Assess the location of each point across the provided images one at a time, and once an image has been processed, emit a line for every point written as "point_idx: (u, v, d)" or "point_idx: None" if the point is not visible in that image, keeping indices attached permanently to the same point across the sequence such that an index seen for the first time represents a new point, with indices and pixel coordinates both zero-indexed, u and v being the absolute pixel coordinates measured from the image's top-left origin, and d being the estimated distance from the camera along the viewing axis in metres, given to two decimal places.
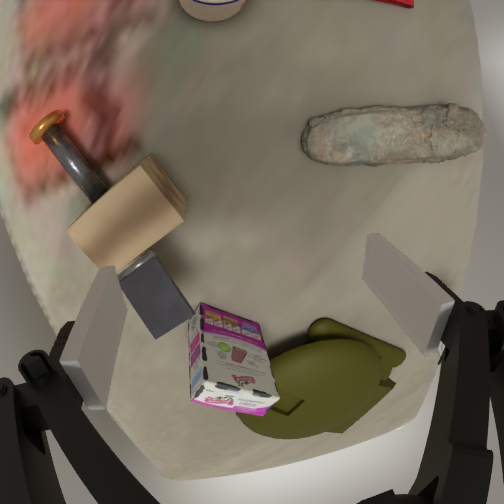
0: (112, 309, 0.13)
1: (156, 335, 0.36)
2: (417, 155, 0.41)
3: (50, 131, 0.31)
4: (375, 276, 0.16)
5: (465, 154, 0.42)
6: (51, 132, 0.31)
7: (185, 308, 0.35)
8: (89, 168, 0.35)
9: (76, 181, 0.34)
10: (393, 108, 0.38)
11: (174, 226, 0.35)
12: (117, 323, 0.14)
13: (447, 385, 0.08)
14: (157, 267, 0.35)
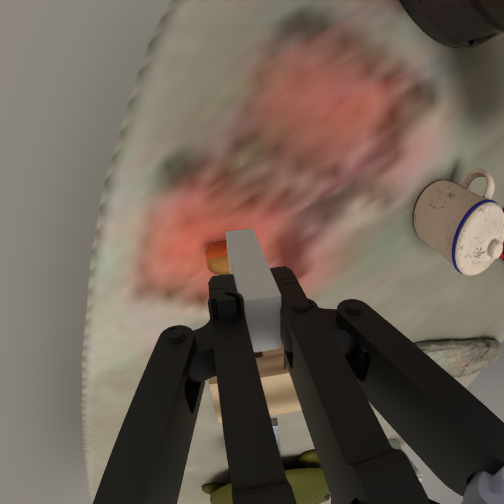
0: None
1: None
2: (451, 374, 0.51)
3: None
4: None
5: None
6: None
7: None
8: None
9: None
10: (458, 346, 0.47)
11: None
12: None
13: (308, 397, 0.09)
14: None
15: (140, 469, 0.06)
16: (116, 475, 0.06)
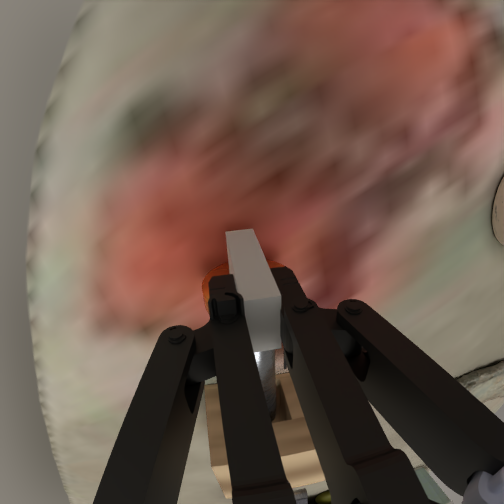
0: None
1: None
2: (498, 396, 0.37)
3: None
4: None
5: None
6: None
7: None
8: (275, 382, 0.22)
9: None
10: None
11: None
12: None
13: (308, 397, 0.09)
14: None
15: (140, 469, 0.06)
16: (117, 475, 0.06)
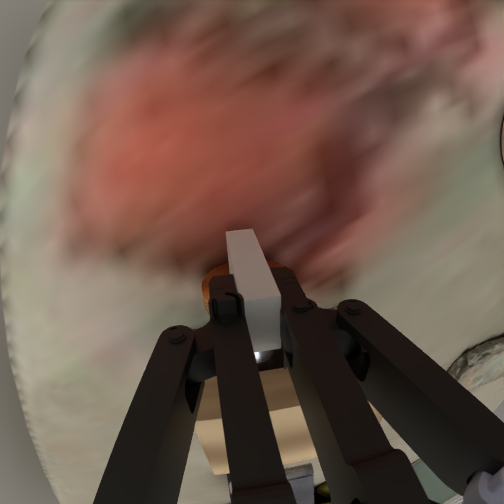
0: None
1: None
2: None
3: None
4: None
5: None
6: None
7: None
8: None
9: None
10: None
11: None
12: None
13: (308, 397, 0.09)
14: (307, 486, 0.19)
15: (140, 469, 0.06)
16: (117, 475, 0.06)
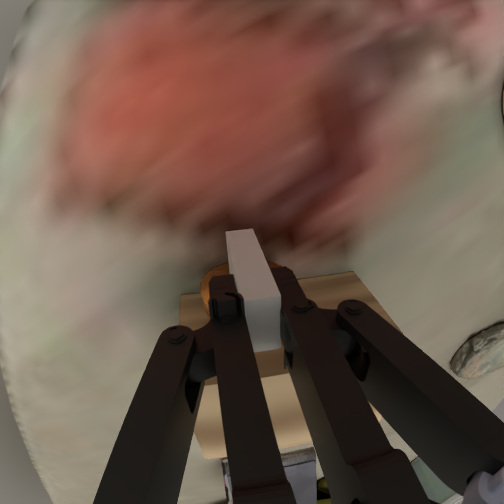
0: None
1: None
2: None
3: None
4: None
5: None
6: None
7: None
8: None
9: None
10: None
11: None
12: None
13: (308, 397, 0.09)
14: (309, 474, 0.18)
15: (140, 469, 0.06)
16: (117, 476, 0.06)
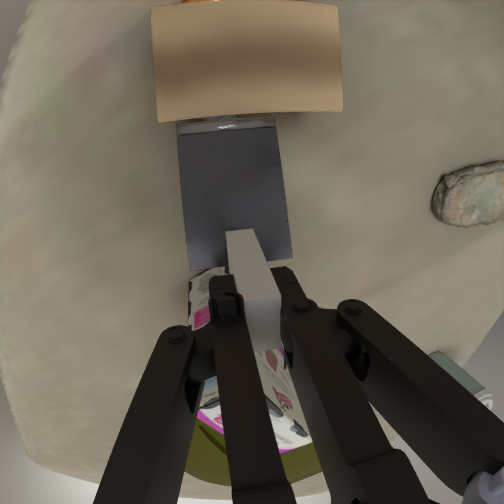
0: None
1: (196, 263, 0.18)
2: None
3: None
4: None
5: None
6: None
7: (283, 238, 0.19)
8: None
9: None
10: None
11: (325, 108, 0.19)
12: None
13: (308, 397, 0.09)
14: (270, 146, 0.18)
15: (140, 469, 0.06)
16: (117, 476, 0.06)
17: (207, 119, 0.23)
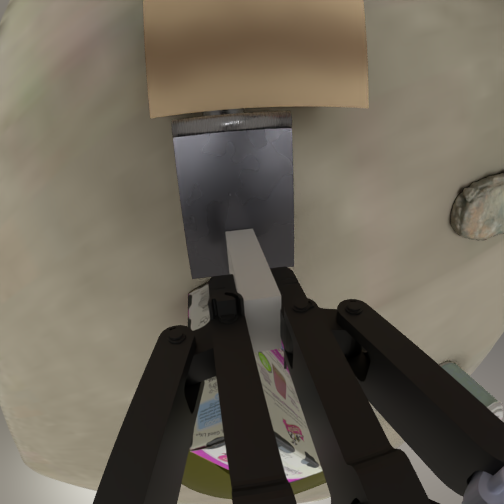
0: None
1: (198, 272, 0.18)
2: None
3: None
4: None
5: None
6: None
7: (286, 248, 0.18)
8: None
9: None
10: None
11: (348, 104, 0.16)
12: None
13: (308, 397, 0.09)
14: (283, 152, 0.16)
15: (140, 469, 0.06)
16: (117, 476, 0.06)
17: (209, 114, 0.19)
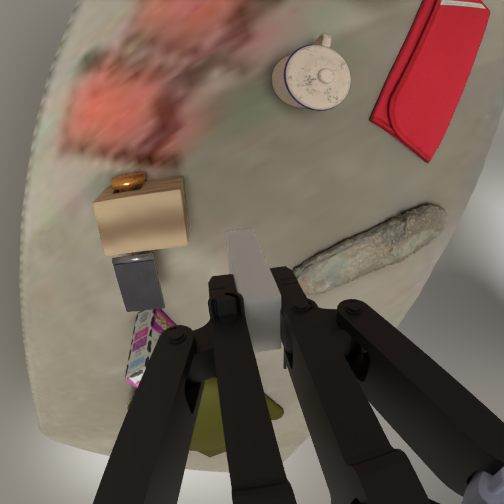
0: None
1: (129, 309, 0.45)
2: (382, 264, 0.57)
3: (130, 189, 0.43)
4: None
5: (427, 243, 0.57)
6: (131, 190, 0.43)
7: (160, 301, 0.46)
8: None
9: None
10: (357, 240, 0.55)
11: (178, 245, 0.43)
12: None
13: (308, 397, 0.09)
14: (151, 268, 0.43)
15: (140, 469, 0.06)
16: (117, 475, 0.06)
17: None
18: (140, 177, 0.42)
